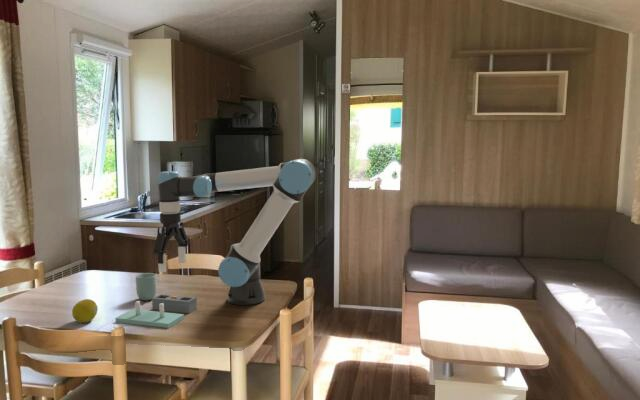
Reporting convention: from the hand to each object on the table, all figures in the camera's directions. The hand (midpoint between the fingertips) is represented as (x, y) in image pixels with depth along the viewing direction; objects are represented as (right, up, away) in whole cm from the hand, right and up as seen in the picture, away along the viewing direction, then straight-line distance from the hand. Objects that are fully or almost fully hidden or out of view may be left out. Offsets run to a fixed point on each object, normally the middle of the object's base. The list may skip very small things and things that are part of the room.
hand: (172, 267), depth 198 cm
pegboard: (-5, -18, -10) cm, 21 cm away
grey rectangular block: (0, -16, +2) cm, 17 cm away
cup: (-15, -15, +15) cm, 26 cm away
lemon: (-28, -18, -10) cm, 35 cm away
